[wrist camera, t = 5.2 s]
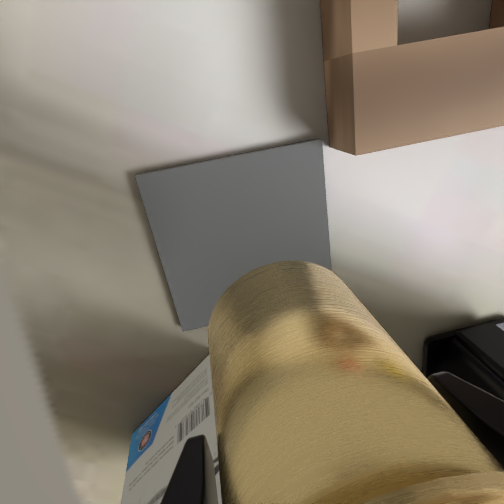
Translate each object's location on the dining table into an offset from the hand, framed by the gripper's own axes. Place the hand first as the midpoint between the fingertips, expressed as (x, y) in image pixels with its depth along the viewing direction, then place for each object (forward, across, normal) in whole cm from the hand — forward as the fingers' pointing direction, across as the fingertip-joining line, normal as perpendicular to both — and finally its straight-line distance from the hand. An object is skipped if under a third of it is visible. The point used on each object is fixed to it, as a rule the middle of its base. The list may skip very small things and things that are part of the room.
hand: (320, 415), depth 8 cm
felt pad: (+11, 0, 0) cm, 11 cm away
